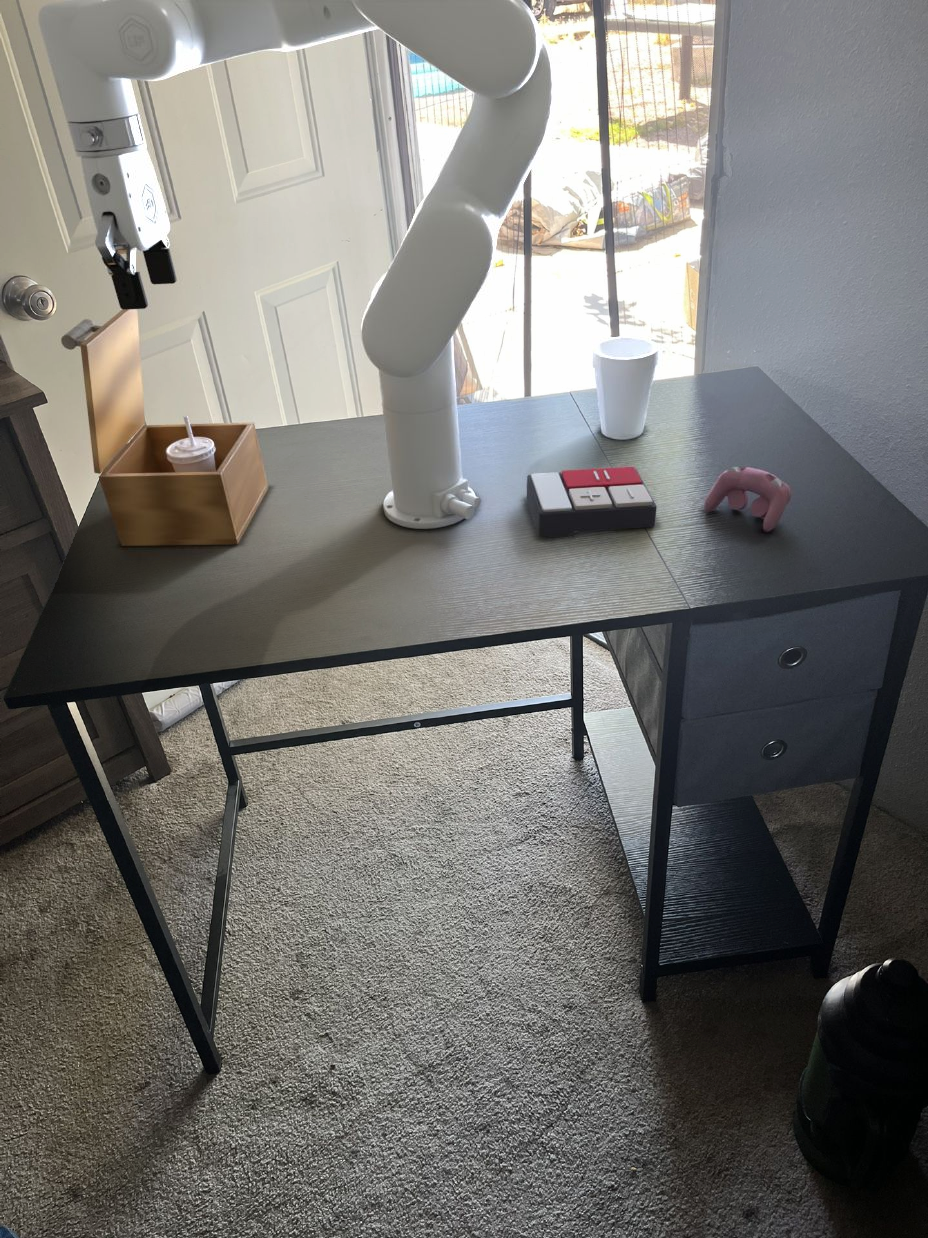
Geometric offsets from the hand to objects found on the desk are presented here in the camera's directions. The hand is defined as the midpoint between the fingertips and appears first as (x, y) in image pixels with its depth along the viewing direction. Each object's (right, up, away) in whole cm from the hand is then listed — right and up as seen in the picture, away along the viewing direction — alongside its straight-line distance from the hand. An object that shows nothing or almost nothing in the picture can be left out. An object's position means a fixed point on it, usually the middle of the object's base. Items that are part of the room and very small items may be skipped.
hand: (150, 295), depth 110 cm
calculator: (+54, -25, +11) cm, 61 cm away
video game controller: (+74, -26, +8) cm, 79 cm away
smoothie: (+2, -24, +17) cm, 30 cm away
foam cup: (+62, -10, +31) cm, 70 cm away
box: (+1, -24, +18) cm, 30 cm away
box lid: (-7, -9, +8) cm, 13 cm away
